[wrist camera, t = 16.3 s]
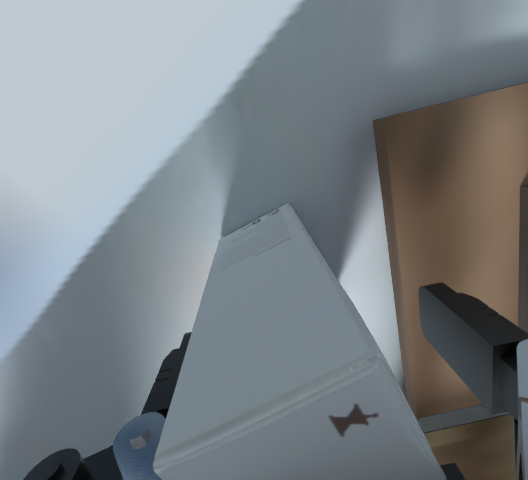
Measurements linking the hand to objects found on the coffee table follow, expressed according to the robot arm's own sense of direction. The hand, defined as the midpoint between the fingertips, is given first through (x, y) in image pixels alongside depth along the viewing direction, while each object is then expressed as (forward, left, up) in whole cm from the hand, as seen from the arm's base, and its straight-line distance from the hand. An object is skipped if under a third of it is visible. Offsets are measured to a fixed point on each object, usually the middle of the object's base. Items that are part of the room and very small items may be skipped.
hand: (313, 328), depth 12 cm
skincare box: (-1, 0, -6) cm, 6 cm away
